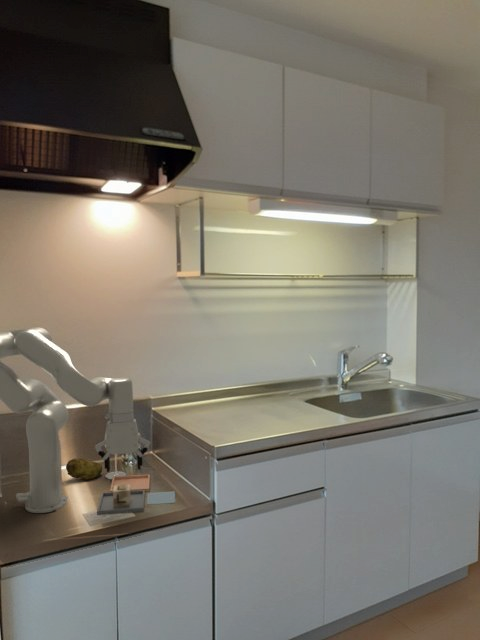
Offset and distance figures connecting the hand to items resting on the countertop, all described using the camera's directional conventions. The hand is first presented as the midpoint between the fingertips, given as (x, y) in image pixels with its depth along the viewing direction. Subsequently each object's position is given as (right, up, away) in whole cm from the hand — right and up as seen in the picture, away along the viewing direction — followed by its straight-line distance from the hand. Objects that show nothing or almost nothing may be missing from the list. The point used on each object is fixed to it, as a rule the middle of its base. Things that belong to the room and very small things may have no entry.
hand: (123, 469), depth 160 cm
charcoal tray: (-1, -12, +1) cm, 12 cm away
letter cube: (-1, -11, +1) cm, 11 cm away
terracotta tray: (-1, -11, +15) cm, 19 cm away
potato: (-20, -10, +22) cm, 32 cm away
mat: (+11, -11, +5) cm, 17 cm away
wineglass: (-9, -10, +25) cm, 29 cm away
